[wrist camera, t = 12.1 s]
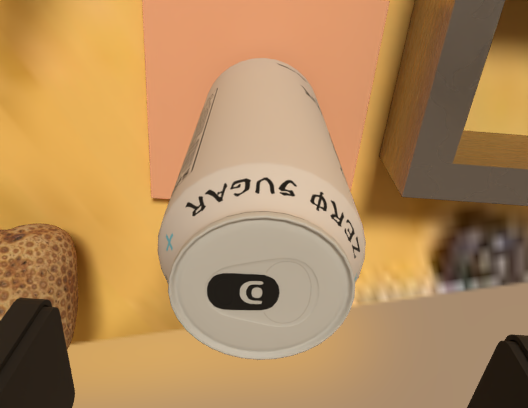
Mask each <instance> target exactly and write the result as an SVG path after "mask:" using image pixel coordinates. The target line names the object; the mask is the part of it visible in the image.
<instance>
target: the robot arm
mask: <svg viewBox="0 0 528 408" xmlns="http://www.w3.org/2000/svg"><path fill="white" fill-rule="evenodd" d="M74 397H75V390H74V384H73V379H72V374H71V368H70V363H69V358H68V353H67V347H66V342H65V337H64V331H63V326H62V321H61V316H60V311H59V309H58V308H57V307H52V304H51V302H50V301H49V300H47V299H34V298H21V297H20V298H18V299H16V300H15V302H14V303H13V304H12V305H11V307H10V308H9V309H8V311H7V312H6V313H5V315H4V316H3V318H2V319H1V320H0V408H72V406H73V402H74ZM467 408H528V336H524V335H509V336H507V337H506V339H505V341H500V342H499V343H498V345H497V347H496V349H495V351H494V353H493V355H492V357H491V359H490V361H489V363H488V365H487V367H486V370H485V372H484V374H483V376H482V378H481V380H480V382H479V384H478V386H477V388H476V390H475V392H474V395H473V396H472V399H471V401H470V403H469V405H468V407H467Z"/></svg>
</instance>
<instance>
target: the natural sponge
mask: <svg viewBox="0 0 528 408" xmlns="http://www.w3.org/2000/svg"><path fill="white" fill-rule="evenodd" d="M20 297H21V298H34V299H47V300H49V301H50V302H51V304H52V307H57V308H58V309H59V311H60V316H61V321H62V326H63V331H64V337H65V342H66V347H67V349H68V347H69V345H70V343H71V340H72V337H73V333H74V329H75V322H76V316H77V307H78V279H77V255H76V251H75V246H74V243H73V241H72V238H71V237H70V235H69V234H68V233H67V232H66V231H64V230H62V229H60V228H59V227H57V226H53V225H49V224H28V225H22V226H18V227H15V228H13V229H9V230H0V320H1V319H2V318H3V316H4V315H5V313H6V312H7V311H8V309H9V308H10V307H11V305H12V304H13V303H14V302H15V300H16V299H18V298H20Z"/></svg>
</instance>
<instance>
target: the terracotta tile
mask: <svg viewBox="0 0 528 408" xmlns="http://www.w3.org/2000/svg"><path fill="white" fill-rule="evenodd" d="M142 1H143V23H144V45H145V66H146V88H147V110H148V131H149V153H150V175H151V196H152V198H161V199H170V198H171V195H172V192H173V190H174V187H175V184H176V181H177V179H178V176H179V173H180V170H181V168H182V165H183V162H184V159H185V156H186V154H187V151H188V148H189V145H190V143H191V140H192V137H193V134H194V131H195V129H196V126H197V123H198V120H199V118H200V115H201V112H202V109H203V106H204V104H205V101H206V98H207V95H208V93H209V91H210V89H211V87H212V85H213V83H214V82H215V81H216V80H217V78H218V77H219V76H220V75H221V74H222V73H223V72H224V71H226V70H227V69H228V68H229V67H231V66H233V65H235V64H237V63H239V62H241V61H245V60H249V59H254V58H268V59H275V60H278V61H281V62H284V63H286V64H288V65H290V66H292V67H293V68H295V69H296V70H298V71H299V72H300V73H301V74H302V75H303V76H304V77H305V78H306V79H307V81H308V82H309V84H310V85H311V87H312V89H313V91H314V93H315V96H316V98H317V101H318V104H319V107H320V109H321V112H322V115H323V118H324V120H325V123H326V126H327V129H328V131H329V134H330V137H331V140H332V142H333V145H334V148H335V151H336V153H337V156H338V159H339V162H340V164H341V167H342V170H343V173H344V176H345V178H346V181H347V184H348V187H349V189H350V192H351V187H352V182H353V177H354V172H355V167H356V162H357V157H358V153H359V148H360V143H361V138H362V133H363V128H364V123H365V118H366V114H367V109H368V104H369V99H370V94H371V89H372V84H373V79H374V75H375V70H376V65H377V60H378V55H379V50H380V45H381V41H382V36H383V31H384V26H385V21H386V16H387V11H388V6H389V2H390V1H388V0H142Z"/></svg>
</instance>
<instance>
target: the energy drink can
mask: <svg viewBox="0 0 528 408" xmlns="http://www.w3.org/2000/svg"><path fill="white" fill-rule="evenodd" d="M365 243H366V242H365V236H364V230H363V225H362V222H361V220H360V217H359V214H358V211H357V209H356V206H355V203H354V200H353V198H352V195H351V192H350V189H349V187H348V184H347V181H346V178H345V176H344V173H343V170H342V167H341V164H340V162H339V159H338V156H337V153H336V151H335V148H334V145H333V142H332V140H331V137H330V134H329V131H328V129H327V126H326V123H325V120H324V118H323V115H322V112H321V109H320V107H319V104H318V101H317V98H316V96H315V93H314V91H313V89H312V87H311V85H310V84H309V82H308V81H307V79H306V78H305V77H304V76H303V75H302V74H301V73H300V72H299V71H298V70H296V69H295V68H293V67H292V66H290V65H288V64H286V63H284V62H281V61H278V60H275V59H268V58H254V59H249V60H245V61H241V62H239V63H237V64H235V65H233V66H231V67H229V68H228V69H227V70H226V71H224V72H223V73H222V74H221V75H220V76H219V77H218V78H217V80H216V81H215V82H214V83H213V85H212V87H211V89H210V91H209V93H208V95H207V98H206V101H205V104H204V106H203V109H202V112H201V115H200V118H199V120H198V123H197V126H196V129H195V131H194V134H193V137H192V140H191V143H190V145H189V148H188V151H187V154H186V156H185V159H184V162H183V165H182V168H181V170H180V173H179V176H178V179H177V181H176V184H175V187H174V190H173V192H172V195H171V198H170V201H169V204H168V206H167V209H166V212H165V215H164V217H163V221H162V224H161V228H160V231H159V235H158V255H159V260H160V265H161V269H162V271H163V274H164V276H165V278H166V280H167V282H168V284H169V287H168V293H169V298H170V303H171V306H172V308H173V311H174V313H175V315H176V317H177V319H178V320H179V322H180V323H181V324H182V325H183V327H184V328H185V329H186V330H187V331H188V332H189V333H190V334H191V335H192V336H194V337H195V338H196V339H197V340H198V341H200V342H201V343H203V344H205V345H207V346H208V347H210V348H212V349H214V350H217V351H219V352H222V353H224V354H227V355H231V356H235V357H240V358H247V359H257V360H261V359H277V358H283V357H288V356H292V355H295V354H298V353H301V352H304V351H307V350H309V349H311V348H313V347H315V346H317V345H319V344H320V343H322V342H323V341H324V340H326V339H327V338H328V337H330V336H331V335H332V334H333V333H334V332H335V331H336V330H337V329H338V328H339V327H340V326H341V325H342V323H343V322H344V320H345V318H346V317H347V315H348V313H349V312H350V309H351V306H352V303H353V300H354V294H355V282H356V280H357V279H358V277H359V274H360V271H361V268H362V265H363V262H364V257H365Z"/></svg>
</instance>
